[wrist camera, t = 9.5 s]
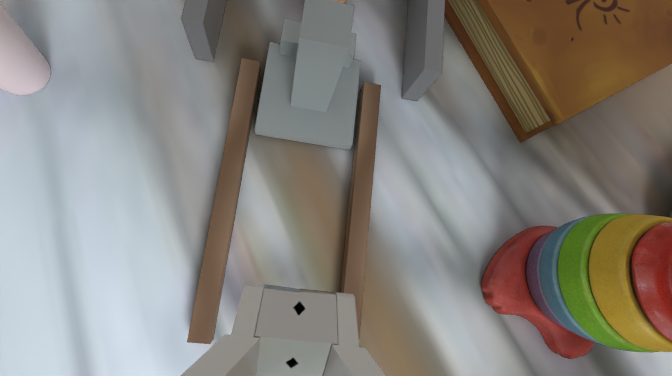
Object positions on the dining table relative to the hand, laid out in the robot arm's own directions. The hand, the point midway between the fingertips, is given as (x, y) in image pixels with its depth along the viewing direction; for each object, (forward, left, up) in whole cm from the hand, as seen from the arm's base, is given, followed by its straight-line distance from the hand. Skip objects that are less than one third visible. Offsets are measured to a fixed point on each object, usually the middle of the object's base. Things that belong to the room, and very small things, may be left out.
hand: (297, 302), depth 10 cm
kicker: (0, -15, -18) cm, 24 cm away
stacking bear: (-23, -2, -18) cm, 30 cm away
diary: (-25, -29, -19) cm, 43 cm away
